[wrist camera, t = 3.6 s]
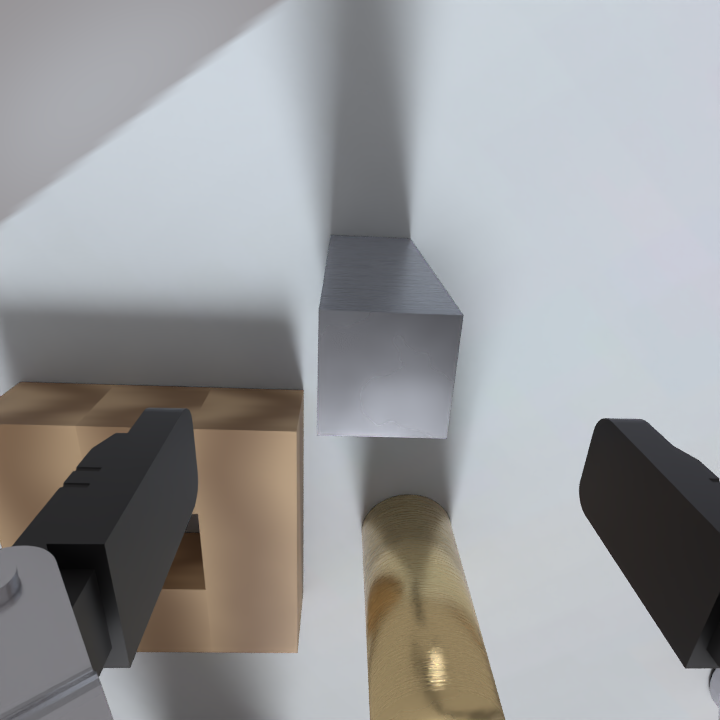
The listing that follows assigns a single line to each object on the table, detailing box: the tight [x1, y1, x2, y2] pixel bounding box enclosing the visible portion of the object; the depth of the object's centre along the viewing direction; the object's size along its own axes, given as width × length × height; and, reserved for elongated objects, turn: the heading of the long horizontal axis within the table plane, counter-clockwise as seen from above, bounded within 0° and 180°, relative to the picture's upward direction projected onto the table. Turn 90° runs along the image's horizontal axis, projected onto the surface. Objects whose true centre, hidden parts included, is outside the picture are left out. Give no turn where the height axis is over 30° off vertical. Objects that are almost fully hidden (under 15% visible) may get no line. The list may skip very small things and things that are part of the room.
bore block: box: [0, 382, 304, 653], centre depth 26 cm, size 14×14×4 cm
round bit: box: [362, 495, 505, 720], centre depth 24 cm, size 5×5×11 cm
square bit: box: [317, 235, 463, 439], centre depth 18 cm, size 4×4×11 cm
